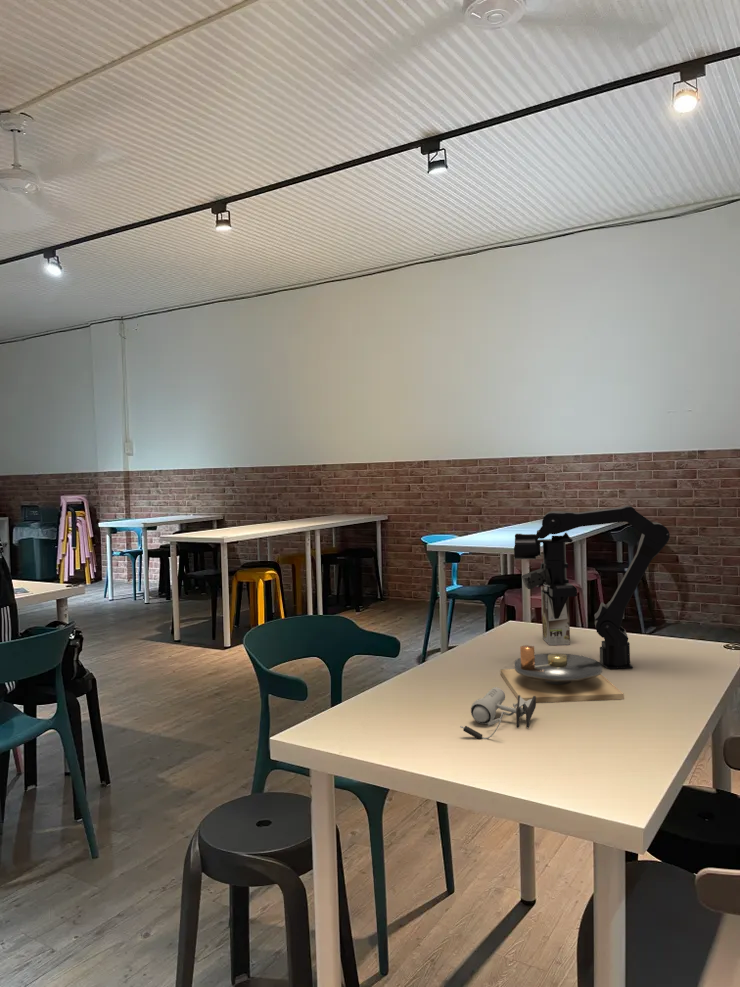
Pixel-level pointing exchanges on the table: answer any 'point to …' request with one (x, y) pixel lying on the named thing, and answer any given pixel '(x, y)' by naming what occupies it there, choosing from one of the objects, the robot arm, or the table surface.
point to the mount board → (560, 688)
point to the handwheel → (556, 666)
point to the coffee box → (555, 623)
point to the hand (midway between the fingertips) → (556, 618)
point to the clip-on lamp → (490, 703)
